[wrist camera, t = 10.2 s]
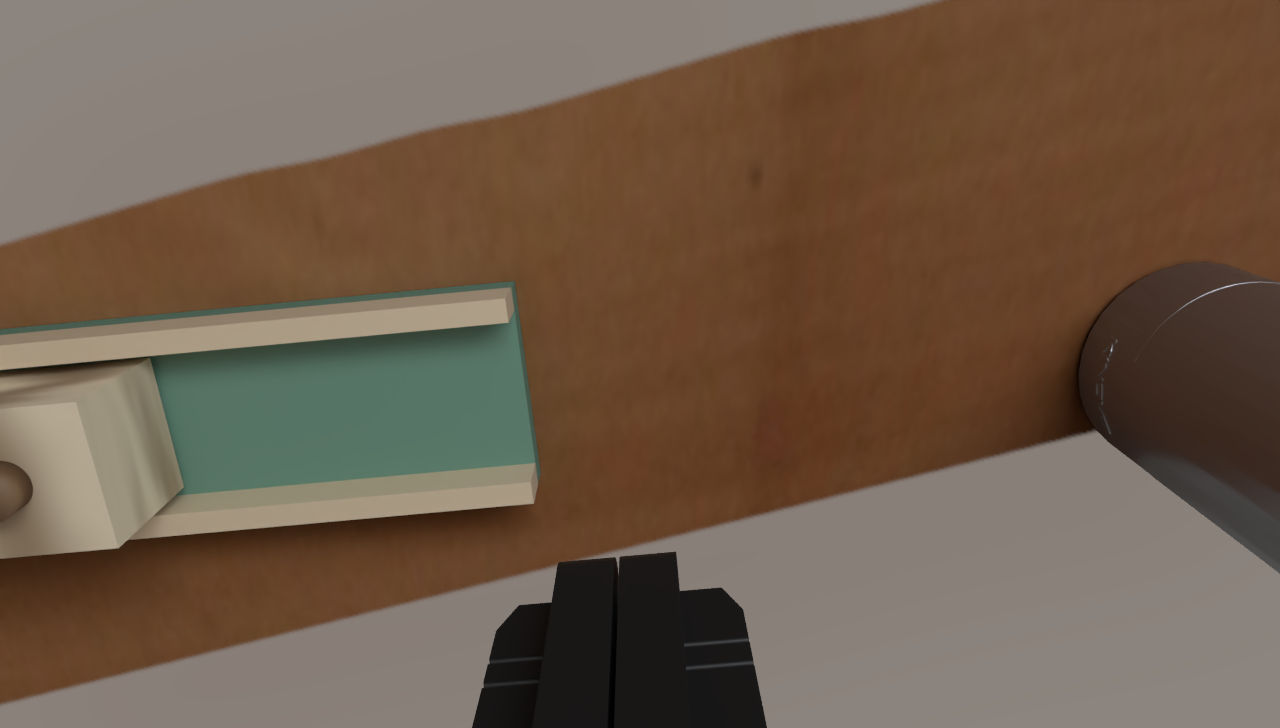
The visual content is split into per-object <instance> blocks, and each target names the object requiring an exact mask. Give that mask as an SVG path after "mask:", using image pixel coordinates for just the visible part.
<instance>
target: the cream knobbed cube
mask: <svg viewBox="0 0 1280 728" xmlns="http://www.w3.org/2000/svg"><path fill="white" fill-rule="evenodd" d="M183 488H184V485H183V481H182V477H181V474H180V470H179V466H178V462H177V458H176V455H175V451H174V447H173V443H172V439H171V436H170V432H169V428H168V424H167V420H166V417H165V413H164V409H163V405H162V402H161V398H160V394H159V390H158V386H157V383H156V379H155V375H154V371H153V367H152V364H151V360H150V358H141V359H130V360H120V361H109V362H98V363H87V364H77V365H66V366H55V367H44V368H34V369H23V370H12V371H1V372H0V559H4V558H15V557H26V556H37V555H48V554H60V553H71V552H82V551H93V550H104V549H115V548H119V547H120V546H122V545H123V544H124V543H125V542H126V541H127V540H128V539H129V538H130V537H131V536H132V535H133V534H134V533H135V532H137V531H138V530H139V529H140V528H141V527H142V526H143V525H144V524H145V523H146V522H147V521H148V520H149V519H150V518H152V517H153V516H154V515H155V514H156V513H157V512H158V511H159V510H160V509H161V508H162V507H163V506H164V505H165V504H166V503H168V502H169V501H170V500H171V499H172V498H173V497H174V496H175V495H176V494H177V493H178V492H179V491H180V490H181V489H183Z"/></svg>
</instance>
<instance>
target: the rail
mask: <svg viewBox="0 0 1280 728" xmlns="http://www.w3.org/2000/svg"><path fill="white" fill-rule="evenodd" d="M141 358H150V360H151V364H152V367H153V371H154V375H155V379H156V383H157V386H158V390H159V394H160V398H161V402H162V405H163V409H164V413H165V417H166V420H167V424H168V428H169V432H170V436H171V439H172V443H173V447H174V451H175V455H176V458H177V462H178V466H179V470H180V474H181V477H182V481H183V485H184V488H183V489H181V490H180V491H179V492H178V493H177V494H176V495H175V496H174V497H173V498H172V499H171V500H170V501H169V502H168V503H166V504H165V505H164V506H163V507H162V508H161V509H160V510H159V511H158V512H157V513H156V514H155V515H154V516H153V517H152V518H150V519H149V520H148V521H147V522H146V523H145V524H144V525H143V526H142V527H141V528H140V529H139V530H138V531H137V532H135V533H134V534H133V535H132V536H131V537H130V538H129V539H128V540H134V539H145V538H156V537H167V536H178V535H189V534H200V533H212V532H223V531H234V530H245V529H256V528H267V527H278V526H290V525H301V524H312V523H323V522H334V521H345V520H356V519H368V518H379V517H390V516H401V515H412V514H423V513H434V512H445V511H457V510H468V509H479V508H490V507H501V506H512V505H523V504H534V500H535V496H536V491H537V487H538V482H539V477H540V473H541V472H540V465H539V458H538V450H537V443H536V436H535V428H534V421H533V414H532V406H531V399H530V391H529V384H528V377H527V369H526V362H525V355H524V347H523V340H522V333H521V325H520V318H519V311H518V303H517V296H516V288H515V281H511V282H500V283H490V284H479V285H468V286H458V287H447V288H436V289H425V290H415V291H404V292H393V293H383V294H372V295H361V296H351V297H340V298H329V299H319V300H308V301H297V302H286V303H276V304H265V305H254V306H244V307H233V308H222V309H212V310H201V311H190V312H180V313H169V314H158V315H147V316H137V317H126V318H115V319H105V320H94V321H83V322H73V323H62V324H51V325H41V326H30V327H19V328H9V329H0V372H1V371H12V370H23V369H34V368H44V367H55V366H66V365H77V364H87V363H98V362H109V361H120V360H130V359H141Z"/></svg>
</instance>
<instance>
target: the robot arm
mask: <svg viewBox="0 0 1280 728" xmlns="http://www.w3.org/2000/svg"><path fill="white" fill-rule="evenodd" d="M1078 375H1079V392H1080V397H1081V400H1082V403H1083V407H1084V410H1085V413H1086V415H1087V416H1088V418H1089V420H1090V421H1091V423H1092V425H1093V426H1094V428H1095V429H1096V430H1097V431H1098V432H1099V433H1100V434H1101V435H1102V436H1103V437H1104V438H1105V439H1106V440H1107V441H1108V442H1109V443H1110V444H1112V445H1113V446H1114V447H1116V448H1117V449H1118V450H1120V451H1121V452H1122V453H1123V454H1125V455H1126V456H1127V457H1129V458H1130V459H1131V460H1133V461H1134V462H1135V463H1137V464H1138V465H1139V466H1141V467H1142V468H1143V469H1144V470H1146V471H1147V472H1148V473H1150V474H1151V475H1152V476H1153V477H1154V478H1155V479H1157V480H1158V481H1159V482H1161V483H1162V484H1163V485H1165V486H1166V487H1167V488H1168V489H1170V490H1171V491H1172V492H1174V493H1175V494H1176V495H1178V496H1179V497H1180V498H1182V499H1183V500H1184V501H1185V502H1187V503H1188V504H1189V505H1191V506H1192V507H1194V508H1195V509H1196V510H1198V511H1199V512H1200V513H1201V514H1203V515H1204V516H1205V517H1207V518H1208V519H1209V520H1211V521H1212V522H1213V523H1215V524H1216V525H1217V526H1218V527H1220V528H1221V529H1222V530H1223V531H1225V532H1226V533H1227V534H1229V535H1230V536H1231V537H1233V538H1234V539H1235V540H1237V541H1238V542H1239V543H1240V544H1242V545H1243V546H1244V547H1246V548H1247V549H1248V550H1250V551H1251V552H1252V553H1254V554H1255V555H1256V556H1258V557H1259V558H1260V559H1261V560H1263V561H1264V562H1265V563H1267V564H1268V565H1269V566H1271V567H1272V568H1273V569H1275V570H1276V571H1277V572H1279V573H1280V282H1277V281H1274V280H1271V279H1268V278H1264V277H1261V276H1258V275H1255V274H1252V273H1249V272H1246V271H1243V270H1240V269H1236V268H1233V267H1230V266H1227V265H1222V264H1214V263H1207V262H1199V263H1187V264H1179V265H1176V266H1172V267H1169V268H1165V269H1162V270H1158V271H1156V272H1154V273H1153V274H1151V275H1149V276H1147V277H1145V278H1143V279H1141V280H1139V281H1137V282H1135V283H1134V284H1133V285H1131V286H1130V287H1129V288H1127V289H1126V290H1125V291H1123V292H1122V293H1121V294H1119V295H1118V296H1117V297H1116V298H1115V299H1114V301H1113V302H1112V303H1111V304H1110V305H1109V306H1108V307H1107V308H1106V309H1105V310H1104V311H1103V312H1102V314H1101V315H1100V317H1099V319H1098V320H1097V322H1096V323H1095V325H1094V326H1093V328H1092V330H1091V331H1090V333H1089V336H1088V338H1087V341H1086V343H1085V346H1084V349H1083V351H1082V355H1081V361H1080V367H1079V373H1078ZM489 660H490V664H488V667H487V670H486V674H485V678H484V688H482V691H481V694H480V698H479V702H478V706H477V710H476V714H475V718H474V722H473V726H472V728H767V726H766V721H765V716H764V711H763V706H762V701H761V696H760V691H759V686H758V681H757V676H756V671H755V666H754V664H753V657H752V652H751V647H750V642H749V638H748V632H747V627H746V622H745V617H744V612H743V609H742V608H741V607H740V606H739V605H738V604H737V603H736V602H735V601H734V600H733V599H732V598H731V597H730V596H729V595H728V594H727V593H726V592H725V591H724V590H723V589H722V588H711V589H699V590H688V591H680V589H679V578H678V567H677V557H676V552H668V553H657V554H646V555H634V556H622V557H620V561H619V574H618V567H617V561H616V558H615V557H614V558H602V559H590V560H579V561H567V562H559V563H558V566H557V572H556V578H555V585H554V591H553V597H552V602H551V603H540V604H528V605H519V606H518V607H517V608H516V609H515V610H514V611H513V613H512V614H511V615H510V616H509V617H508V618H507V619H506V620H505V622H504V623H503V624H502V625H501V626H500V627H499V628H498V629H497V631H496V634H495V638H494V642H493V646H492V650H491V654H490V658H489Z"/></svg>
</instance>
